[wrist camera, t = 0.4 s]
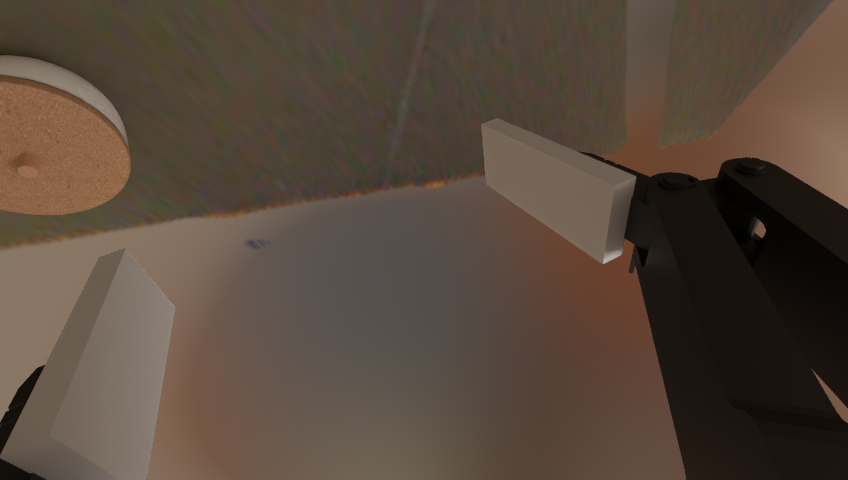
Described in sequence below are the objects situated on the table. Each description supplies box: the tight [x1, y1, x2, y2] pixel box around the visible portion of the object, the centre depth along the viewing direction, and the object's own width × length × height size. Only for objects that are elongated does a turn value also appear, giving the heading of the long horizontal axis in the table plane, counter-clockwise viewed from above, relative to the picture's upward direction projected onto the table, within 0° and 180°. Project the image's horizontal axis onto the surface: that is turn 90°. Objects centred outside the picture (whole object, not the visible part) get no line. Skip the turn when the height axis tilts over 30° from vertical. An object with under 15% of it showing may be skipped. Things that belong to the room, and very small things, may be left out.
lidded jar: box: [0, 55, 131, 215], centre depth 27 cm, size 11×11×9 cm
